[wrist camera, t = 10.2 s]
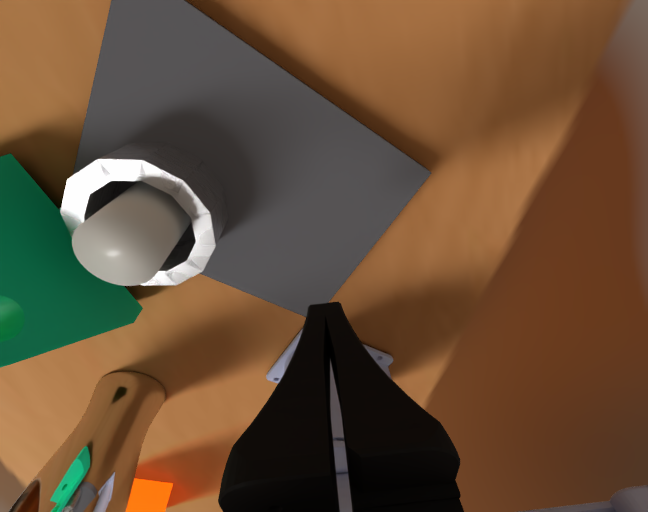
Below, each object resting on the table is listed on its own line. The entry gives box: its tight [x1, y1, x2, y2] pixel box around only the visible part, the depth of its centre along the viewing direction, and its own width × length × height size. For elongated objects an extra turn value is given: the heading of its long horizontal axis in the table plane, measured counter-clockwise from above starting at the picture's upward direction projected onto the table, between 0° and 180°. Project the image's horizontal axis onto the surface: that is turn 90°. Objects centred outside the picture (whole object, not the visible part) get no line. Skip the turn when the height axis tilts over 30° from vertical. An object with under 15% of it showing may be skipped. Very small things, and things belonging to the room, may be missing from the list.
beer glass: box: [9, 371, 166, 512], centre depth 23 cm, size 7×7×15 cm
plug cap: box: [72, 181, 192, 286], centre depth 16 cm, size 4×4×6 cm
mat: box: [73, 0, 431, 317], centre depth 19 cm, size 18×14×1 cm
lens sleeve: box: [60, 142, 228, 285], centre depth 17 cm, size 7×7×4 cm
